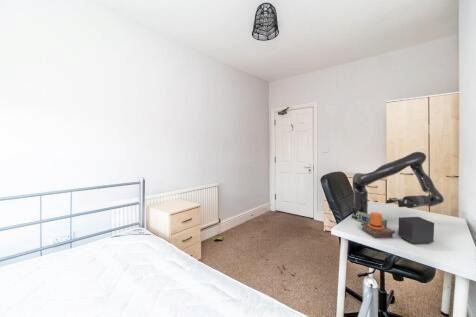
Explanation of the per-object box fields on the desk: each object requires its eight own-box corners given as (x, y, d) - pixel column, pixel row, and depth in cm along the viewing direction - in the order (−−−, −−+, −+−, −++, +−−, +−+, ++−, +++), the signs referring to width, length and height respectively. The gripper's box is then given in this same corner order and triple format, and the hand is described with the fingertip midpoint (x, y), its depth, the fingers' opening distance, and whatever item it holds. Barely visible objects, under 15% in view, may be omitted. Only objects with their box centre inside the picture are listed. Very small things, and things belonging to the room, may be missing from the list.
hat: (364, 224, 139) (364, 211, 139) (378, 223, 139) (378, 211, 139) (373, 229, 130) (373, 216, 130) (388, 229, 130) (388, 216, 130)
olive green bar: (384, 230, 138) (350, 218, 161) (387, 229, 139) (353, 217, 162) (384, 220, 138) (350, 209, 161) (387, 219, 139) (353, 209, 162)
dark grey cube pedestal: (397, 236, 129) (398, 217, 128) (417, 236, 129) (418, 216, 128) (412, 244, 118) (412, 223, 118) (433, 244, 118) (434, 223, 118)
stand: (360, 229, 141) (360, 223, 141) (378, 228, 141) (378, 222, 141) (374, 238, 127) (374, 232, 127) (394, 237, 127) (394, 231, 127)
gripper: (424, 210, 133) (403, 212, 130) (402, 204, 147) (382, 206, 143) (425, 198, 132) (403, 200, 129) (403, 193, 146) (383, 195, 143)
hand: (392, 203), depth 136 cm, fingers open, 8 cm apart
